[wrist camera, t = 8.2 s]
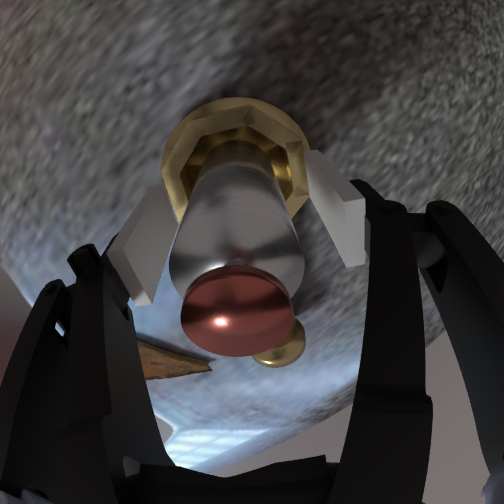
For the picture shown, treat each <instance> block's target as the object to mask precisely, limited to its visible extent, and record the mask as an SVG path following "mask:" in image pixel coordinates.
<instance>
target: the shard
mask: <svg viewBox="0 0 504 504" xmlns="http://www.w3.org/2000/svg"><path fill="white" fill-rule="evenodd" d="M137 343H138V348H139V353H140V358H141V363H142V367H143V372H144V376H145V380H153V379H164V378H173V377H179V376H184V375H190V374H194V373H200V372H207V371H212V369H211V368H210V367H209V365H208V364H209V362H206V361H202V360H198V359H195V358H191V357H186V356H182V355H179V354H176V353H172V352H170V351H165V350H162V349H160V348H157V347H154V346H152V345H150V344H147V343H144V342H141V341H139V340H137Z"/></svg>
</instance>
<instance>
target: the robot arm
mask: <svg viewBox="0 0 504 504" xmlns="http://www.w3.org/2000/svg"><path fill="white" fill-rule="evenodd" d="M303 153H304V159H305V166H306V172H307V179H308V187H309V194H310V199H311V200H312V202H313V204H314V206H315V208H316V210H317V211H318V213H319V215H320V217H321V219H322V221H323V223H324V224H325V226H326V228H327V230H328V232H329V234H330V236H331V238H332V240H333V242H334V244H335V246H336V248H337V250H338V252H339V254H340V256H341V258H342V260H343V262H344V264H345V266H346V268H348V267H353V266H357V265H362V264H365V251H366V253H367V255H368V256H369V258H370V264H369V283H368V297H367V309H366V319H365V329H364V337H363V345H362V353H361V360H360V367H359V373H358V380H357V385H356V391H355V397H354V402H353V407H352V413H351V417H350V422H349V426H348V431H347V435H346V439H345V444H344V447H343V452H342V455H341V459H340V463H331V462H326V457H325V455H321V456H316V457H310V458H305V459H299V460H293V461H285V462H278V463H273V464H270V465H268V466H265V467H262V468H259V469H255V470H252V471H249V472H246V473H242V474H239V475H236V476H232V477H226V478H225V477H218V476H214V475H209V474H205V473H201V472H197V471H194V470H190V469H186V468H183V467H180V466H176V465H175V464H174V462H173V461H172V460H171V459H170V457H169V456H168V454H167V453H166V450H165V448H164V445H163V442H162V439H161V436H160V432H159V429H158V426H157V422H156V419H155V415H154V412H153V408H152V404H151V401H150V397H149V393H148V389H147V385H146V381H145V376H144V372H143V367H142V363H141V358H140V353H139V348H138V343H137V338H136V332H135V327H134V321H133V315H132V311H131V309H130V307H129V306H128V304H127V303H128V301H129V298H130V297H131V299H132V300H133V302H134V304H135V305H136V307H138V306H145V305H151V304H152V303H153V300H154V296H155V293H156V290H157V287H158V283H159V280H160V277H161V274H162V271H163V268H164V265H165V262H166V259H167V256H168V253H169V250H170V247H171V244H172V241H173V238H174V235H175V232H176V230H177V227H178V224H177V222H176V219H175V216H174V214H173V211H172V208H171V205H170V203H169V200H168V197H167V194H166V191H165V189H164V186H163V183H162V184H159V185H155V186H152V187H150V188H149V190H148V191H147V192H146V194H145V195H144V197H143V198H142V199H141V201H140V202H139V204H138V205H137V207H136V208H135V209H134V211H133V212H132V214H131V215H130V217H129V218H128V220H127V221H126V223H125V224H124V226H123V227H122V229H121V231H120V232H119V233H117V234H116V235H115V236H114V237H113V238H112V240H111V241H110V243H109V245H108V246H107V247H106V249H105V251H104V252H103V254H102V256H101V257H100V255H99V253H98V251H97V249H96V247H95V245H94V244H86V245H83V246H81V247H80V248H78V249H76V250H75V251H74V252H73V253H72V254H71V255H70V256H69V257H68V259H67V261H68V263H69V265H70V267H71V268H72V270H73V272H74V273H75V275H76V277H77V278H76V283H74V284H72V285H70V286H68V287H66V286H65V284H64V283H63V281H62V280H61V279H56V280H54V281H50V282H49V283H47V284H46V285H45V287H44V288H43V289H42V291H41V292H40V294H39V296H38V298H37V300H36V302H35V304H34V306H33V308H32V310H31V312H30V314H29V316H28V318H27V321H26V322H25V325H24V327H23V329H22V331H21V334H20V336H19V338H18V341H17V343H16V345H15V348H14V351H13V353H12V356H11V358H10V361H9V363H8V366H7V369H6V371H5V374H4V377H3V380H2V383H1V386H0V504H425V503H423V502H422V497H423V493H424V487H425V482H426V476H427V469H428V462H429V454H430V446H431V434H432V421H433V420H432V419H433V403H432V400H431V397H430V396H428V395H426V391H425V336H424V320H423V308H422V298H421V289H420V281H419V274H418V268H419V269H420V272H421V274H422V276H423V278H424V280H425V282H426V284H427V286H428V289H429V291H430V293H431V295H432V297H433V300H434V302H435V304H436V306H437V309H438V311H439V313H440V316H441V318H442V321H443V323H444V326H445V328H446V331H447V333H448V336H449V338H450V341H451V344H452V346H453V349H454V352H455V355H456V358H457V361H458V364H459V366H460V370H461V372H462V376H463V379H464V382H465V386H466V389H467V392H468V396H469V400H470V403H471V407H472V411H473V414H474V419H475V423H476V428H477V433H478V437H479V441H480V445H481V449H482V453H483V456H484V459H485V462H486V465H487V468H488V470H489V472H490V476H489V478H488V480H487V483H486V485H485V486H484V487H483V490H482V492H481V497H482V499H483V501H485V502H486V504H504V263H503V261H502V260H501V259H500V257H499V256H498V255H497V253H496V252H495V251H494V250H493V248H492V247H491V246H490V245H489V243H488V242H487V241H486V240H485V238H484V237H483V236H482V235H481V233H480V232H479V231H478V230H477V229H476V228H475V226H474V225H473V224H472V223H471V222H470V221H469V220H468V218H467V217H466V216H465V215H464V214H463V213H462V212H461V211H460V210H459V209H458V208H457V207H456V206H455V205H453V204H451V203H449V202H447V201H443V200H440V201H432V202H429V203H428V204H427V206H426V213H407V209H406V207H405V206H404V205H403V204H401V203H399V202H396V201H390V200H385V199H384V198H383V197H382V196H381V195H380V194H379V193H378V192H376V191H375V190H374V189H373V188H372V187H371V186H370V185H369V184H368V183H367V182H365V181H362V180H360V179H356V180H349V181H348V180H347V179H346V178H345V176H344V175H343V174H342V173H341V172H340V171H339V170H338V169H337V168H336V167H335V166H334V165H333V164H332V163H331V162H330V161H329V160H328V159H327V158H326V157H325V156H324V155H322V154H321V153H320V152H319V151H318V150H317V149H316V150H310V151H304V152H303ZM56 322H57V323H58V325H59V326H60V327H61V328H62V330H63V331H64V335H63V337H62V336H61V335H60V334H59V333H58V331H57V330H56V329H55V324H56Z"/></svg>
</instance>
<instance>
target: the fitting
mask: <svg viewBox="0 0 504 504" xmlns="http://www.w3.org/2000/svg"><path fill="white" fill-rule="evenodd" d="M235 139H240V140H246V141H250V142H252V143H254V144H256V145H258V146H259V147H260V148H262V149H263V150H264V151H265V153H266V154H267V156H268V157H269V159H270V162H271V164H272V167H273V169H274V172H275V175H276V178H277V180H278V183H279V186H280V189H281V191H282V194H283V197H284V200H285V202H286V205H287V208H288V211H289V214H290V217H291V219H292V218H293V217H294V215H295V214H296V213H297V211H298V210H299V209H300V208H301V206H302V205H303V204H304V203H305V201H306V200H307V199H308V197H309V196H310V194H309V187H308V179H307V172H306V166H305V159H304V153H303V152H304V151H310V147H309V144H308V141H307V139H306V137H305V135H304V134H303V132H302V130H301V129H300V128H299V126H298V125H297V124H296V123H295V122H294V121H293V120H292V119H291V118H290V117H289V116H288V115H287V114H286V113H284V112H283V111H282V110H280V109H279V108H277V107H275V106H273V105H272V104H270V103H267V102H265V101H262V100H259V99H255V98H250V97H226V98H220V99H217V100H214V101H211V102H208V103H206V104H204V105H202V106H200V107H199V108H197V109H195V110H194V111H192V112H191V113H190V114H188V115H187V116H186V117H185V118H184V119H183V120H182V121H181V122H180V123H179V124H178V125H177V127H176V128H175V129H174V131H173V132H172V134H171V135H170V137H169V139H168V142H167V144H166V146H165V150H164V153H163V158H162V172H161V173H162V180H163V185H164V188H165V191H166V194H167V196H168V198H169V200H170V202H171V204H172V205H173V208H174V210H175V213H176V216H177V219H178V221H179V223H181V221H182V218H183V215H184V213H185V210H186V207H187V204H188V202H189V199H190V196H191V194H192V191H193V188H194V186H195V183H196V180H197V178H198V175H199V173H200V170H201V167H202V165H203V162H204V160H205V158H206V156H207V155H208V153H209V152H210V151H211V150H212V149H213V148H214V147H215V146H217V145H219V144H220V143H222V142H225V141H228V140H235ZM290 300H291V305H292V310H293V317H294V320H293V325H292V328H291V330H290V332H289V334H288V335H287V337H286V338H285V339H284V340H283V341H282V342H281V343H279V344H278V345H277V346H275V347H274V348H272V349H270V350H268V351H265V352H263V353H259V354H256V355H251V356H252V357H253V359H254V360H255V361H256V362H257V363H259V364H261V365H263V366H266V367H271V368H278V367H284V366H287V365H289V364H291V363H293V362H295V361H296V360H297V359H298V358H299V357H300V356H301V355H302V354H303V352H304V350H305V346H306V338H305V330H304V327H303V325H302V324H301V323H300V322H299V321H298V320H297V319H295V314H294V308H293V302H292V298H291V299H290Z"/></svg>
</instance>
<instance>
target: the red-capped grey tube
mask: <svg viewBox="0 0 504 504" xmlns="http://www.w3.org/2000/svg"><path fill="white" fill-rule="evenodd" d="M304 268H305V265H304V256H303V252H302V249H301V246H300V243H299V240H298V237H297V234H296V231H295V228H294V225H293V222H292V220H291V217H290V214H289V211H288V208H287V205H286V202H285V200H284V197H283V194H282V191H281V189H280V186H279V183H278V180H277V178H276V175H275V172H274V169H273V167H272V164H271V162H270V159H269V157H268V156H267V154H266V153H265V151H264V150H263V149H262V148H260V147H259V146H258V145H256V144H254V143H252V142H250V141H246V140H240V139H235V140H228V141H225V142H222V143H220V144H219V145H217V146H215V147H214V148H213V149H212V150H211V151H210V152H209V153H208V155H207V156H206V158H205V160H204V162H203V165H202V167H201V170H200V173H199V175H198V178H197V180H196V183H195V186H194V188H193V191H192V194H191V196H190V199H189V202H188V204H187V207H186V210H185V213H184V215H183V218H182V221H181V224H180V227H179V230H178V233H177V236H176V239H175V242H174V245H173V248H172V251H171V254H170V259H169V272H170V277H171V280H172V282H173V285H174V287H175V289H176V290H177V292H178V293H179V294H180V296H181V297H182V298H183V299H184V300H183V305H182V310H181V317H180V318H181V325H182V328H183V330H184V332H185V334H186V335H187V337H188V338H189V339H190V340H191V341H192V342H193V343H195V344H196V345H197V346H199V347H201V348H202V349H204V350H207V351H209V352H212V353H215V354H218V355H223V356H232V357H243V356H251V355H256V354H259V353H263V352H265V351H268V350H270V349H272V348H274V347H275V346H277V345H278V344H279V343H281V342H282V341H283V340H284V339H285V338H286V337H287V335H288V334H289V332H290V330H291V328H292V325H293V320H294V317H293V310H292V305H291V300H290V299H291V298H292V296H293V295H294V294H295V293H296V291H297V289H298V288H299V286H300V284H301V282H302V279H303V275H304Z"/></svg>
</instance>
